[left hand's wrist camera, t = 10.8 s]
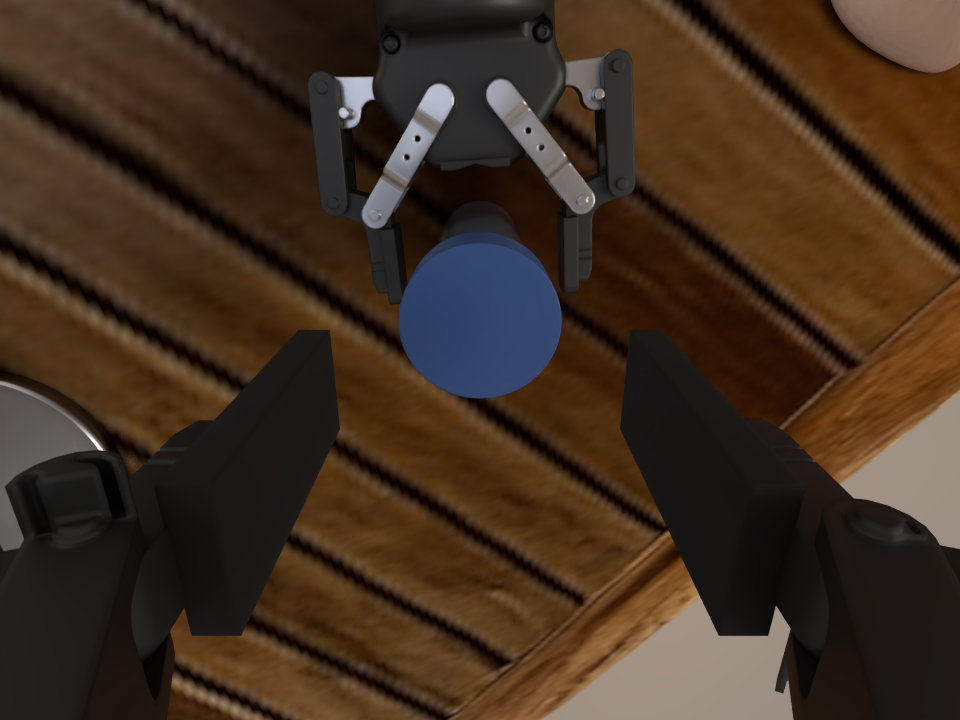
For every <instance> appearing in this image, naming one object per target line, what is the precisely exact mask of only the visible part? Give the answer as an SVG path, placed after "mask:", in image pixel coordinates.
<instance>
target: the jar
mask: <svg viewBox="0 0 960 720" xmlns="http://www.w3.org/2000/svg"><path fill="white" fill-rule="evenodd" d="M471 232H490V233H495V234H500V235H503V236H506V237H509V238H511V239H513V240H515V241H517V242H519V243H520V244H522V243H521V240H520V237H519V235H518V232H517V230H516V227H515V224H514V222H513V220H512V219H511V217H510V216H509V214H508V213H507V212H506V211H505V210H504V209H502V208H501V207H499V206H498V205H496V204H494V203H491V202H487V201H473V202H469V203H466V204H464V205H462V206H460V207H459V208H458V209H456V210H455V211H454V212H453V213H452V214H451V216H450V217H449V219H448V220H447V222H446V225H445V227H444V230H443V232H442V235H441V237H440V240H439V243H438V244H440V243H441V242H443V241H445V240H447V239H449V238H451V237H454V236H457V235H460V234H465V233H471Z"/></svg>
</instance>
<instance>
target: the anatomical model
mask: <svg viewBox="0 0 960 720" xmlns="http://www.w3.org/2000/svg"><path fill="white" fill-rule="evenodd" d="M831 2H832V5H833V7H834V9H835V11H836V13H837V15H838V17H839V18H840V20H841V21H842V22H843V24H844V25H845V26H846V28H847V29H848V30H849V31H850V32H851V33H852V34H853V35H854V36H855V37H856V38H857V39H858V40H860V41H861V42H862V43H864V44H865V45H866V46H868V47H869V48H870V49H872V50H874V51H875V52H877V53H879V54H881V55H882V56H884V57H886V58H888V59H890V60H892V61H894V62H896V63H898V64H900V65H902V66H905V67H908V68H911V69H914V70H917V71H922V72H929V73H936V72H942V71H945V70H948V69H950V68H952V67H954V66H956V65H957V64H959V63H960V0H831Z"/></svg>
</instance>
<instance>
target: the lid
mask: <svg viewBox="0 0 960 720" xmlns="http://www.w3.org/2000/svg"><path fill="white" fill-rule="evenodd" d="M561 323H562V321H561V309H560V303H559V300H558V297H557V294H556V291H555V289H554V287H553V285H552V283H551V281H550V279H549V277H548V275H547V273H546V271H545V269H544V267H543V266H542V264H541V263H540V261H539V260H538V259H537V258H536V256H535V255H534V254H533V253H532V252H531V251H530V250H528V249H527V248H526V247H525V246H523V245H522V244H520V243H519V242H517V241H515V240H513V239H511V238H509V237H506V236H503V235H500V234H495V233H490V232H471V233H465V234H460V235H457V236H454V237H451V238H449V239H447V240H445V241H443V242H441V243H440V244H438V245H437V246H435V247H434V248H433V249H431V250H430V251H429V252H428V253H427V254H426V255H425V256H424V257H423V259H422V260H421V261H420V262H419V264H418V265H417V267H416V269H415V271H414V272H413V274H412V276H411V278H410V281H409V283H408V285H407V287H406V289H405V291H404V294H403V296H402V300H401V304H400V309H399V332H400V338H401V341H402V344H403V347H404V350H405V352H406V354H407V356H408V358H409V359H410V361H411V362H412V364H413V365H414V367H415V368H416V369H417V370H418V371H419V373H421V374H422V375H423V376H424V377H425V378H426V379H427V380H428V381H430V382H431V383H432V384H434V385H435V386H437V387H439V388H441V389H443V390H445V391H447V392H450V393H452V394H455V395H459V396H463V397H469V398H491V397H497V396H501V395H505V394H508V393H511V392H513V391H515V390H517V389H519V388H521V387H523V386H524V385H526V384H528V383H529V382H530V381H532V380H533V379H534V378H535V377H536V376H538V375H539V373H540V372H541V371H542V370H543V369H544V368H545V367H546V365H547V364H548V362H549V361H550V359H551V358H552V356H553V354H554V352H555V350H556V347H557V344H558V341H559V337H560V333H561Z"/></svg>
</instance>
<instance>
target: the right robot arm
mask: <svg viewBox="0 0 960 720" xmlns="http://www.w3.org/2000/svg"><path fill="white" fill-rule="evenodd" d="M374 6H375V15H376V23H377V32H378V40H379V60H378V65H377V69H376V71H375V74H374V77H335V76H333V75H331V74H328V73H326V72H316V73H314V74H313V75H312V76H311V77H310V79H309V81H308V93H309V102H310V111H311V120H312V129H313V139H314V148H315V157H316V166H317V175H318V185H319V194H320V203H321V207H322V209H323V211H324V212H325V213H326V214H328V215H329V216H332V217H338V216H340V217H343V218H347V219H350V220H354V221H356V222H358V223H359V224H361V225H362V226H363V228H364V229H365V231H366V234H367V240H368V247H369V254H370V261H371V268H372V275H373V282H374V285H375V287H376V289H377V291H378V292H379V293H388V298H389V303H390V304H401V300H402V296H403V294H404V291H405V289H406V287H407V285H408V283H407V275H406V267H405V258H404V250H403V241H402V233H401V225H400V222H398V223H395V215H394V214H395V213H396V211H397V209H398V207H399V206H400V204H401V202H402V201H403V199H404V197H405V195H406V194H407V192H408V190H409V189H410V187H411V185H412V184H413V183H414V181H415V179H416V178H417V176H418V174H419V173H420V171H421V169H422V168H423V166H424V164H425V162H426V163H427V164H428V165H430V166H432V167H434V168H437V169H441V171H449V170H459V169H462V168H464V167H467V166H470V165H473V164H479V165H484V166H489V167H504V166H510V164H513V163H515V162H517V161H518V160H519V159H521V158H522V157H523V156H524V155H525V156H526V157H527V158H528V159H529V161H530V162H531V163H532V164H533V166H534V167H535V168H536V169H537V171H538V172H539V173H540V174H541V175H542V176H543V178H544V179H545V180H546V181H547V183H548V184H549V185H550V186H551V188H552V189H553V190H554V191H555V193H556V194H557V195H558V197H559V198H560V199H561V200H562V212H557V216H558V275H559V286H560V288H561V290H562V292H563V294H565V293H578V288H579V281H584V280H588V278H589V275H590V273H591V270H592V217H593V214H594V212H595V210H596V209H597V208H598V207H599V206H600V205H602V204H604V203H606V202H608V201H611V200H613V199H615V198H617V197H625V196H628V195H629V194H630V193H631V192H632V191H633V189H634V187H635V149H634V111H633V74H632V59H631V57H630V55H629V54H628V53H627V52H626V51H624V50H621V49H618V50H614V51H612V52H609V53H607V54H606V55H604V56H603V57H597V58H590V59H583V60H576V61H569V62H564V60H563V58H562V56H561V54H560V52H559V50H558V47H557V43H556V39H555V17H554V0H374ZM566 87H571V88H573V89H574V90H575V91H576V92H577V93H578V96H579V100H580V103H581V105H582V106H583V108H585V109H586V110H589V111H594V110H595V130H596V150H597V170H598V173H596V174H594V175H592V176H590V177H588V178H585V179H583V178H582V177H581V176H580V175H579V173H578V172H577V171H576V169H575V168H574V167H573V166H572V164H571V163H570V161H569V159H568V158H567V156H566V155H565V153H564V152H563V151H562V149H561V148H560V147H559V146H558V144H557V143H556V142H555V140H554V139H553V138H552V136H551V135H550V134H549V133H548V131H547V130H546V129H545V127H544V126H543V125H544V124H545V122H546V120H547V119H548V117H549V115H550V114H551V112H552V111H553V109H554V107H555V106H556V104H557V102H558V101H559V99H560V98H561V96H562V94H563V93H564V91H565V88H566ZM374 101H376V103H377V105H378V106H379V108H380V109H381V110H382V111H383V112H384V114H385V115H386V116H387V117H388V119H389V120H390V121H391V122H392V123H393V125H394V126H395V127H396V128H397V129H398V131H399V132H400V133H401V134H402V138H401V139H400V141H399V143H398V145H397V146H396V148H395V150H394V152H393V154H392V155H391V157H390V159H389V161H388V162H387V164H386V166H385V168H384V170H383V172H382V175H381V177H380V179H379V181H378V183H377V184H376V186H375V188H374V190H373V192H372V193H371V194H369V193H366V192H362V191H359V190H357V185H356V173H355V161H354V150H353V138H352V129H353V128H357V127H359V126H360V125H361V124H362V123H363V121H364V117H365V110H366V108H367V106H368V105H369V104H370V103H372V102H374Z"/></svg>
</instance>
